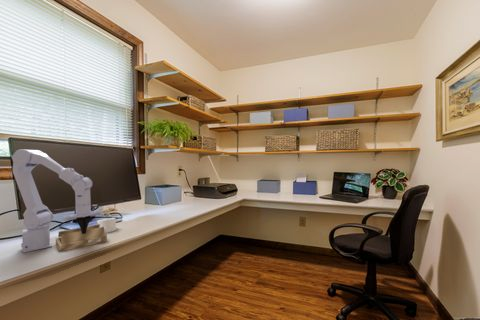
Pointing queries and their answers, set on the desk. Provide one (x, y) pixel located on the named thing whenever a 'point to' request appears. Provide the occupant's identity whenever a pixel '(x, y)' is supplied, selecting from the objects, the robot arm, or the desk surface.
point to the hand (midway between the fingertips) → (83, 233)
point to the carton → (80, 242)
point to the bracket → (108, 224)
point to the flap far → (77, 230)
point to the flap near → (82, 235)
